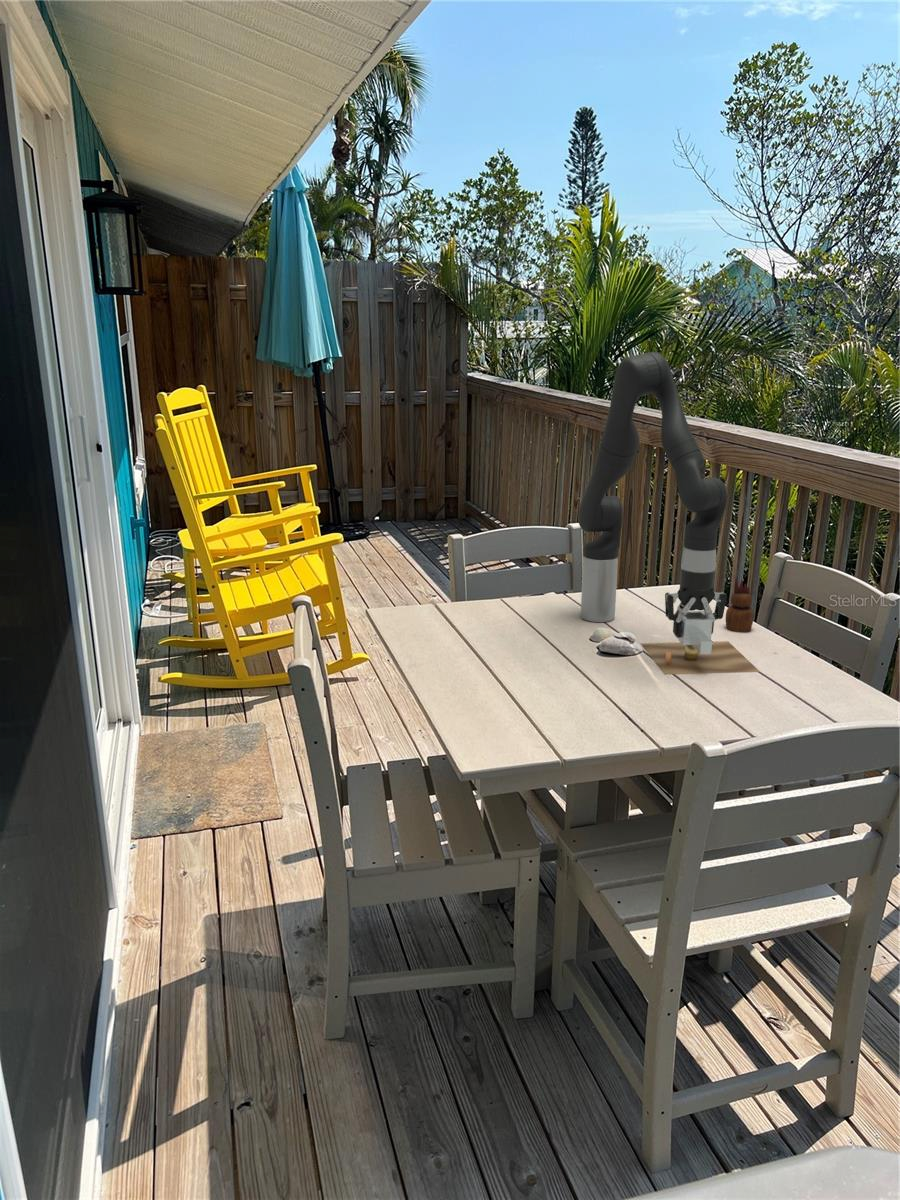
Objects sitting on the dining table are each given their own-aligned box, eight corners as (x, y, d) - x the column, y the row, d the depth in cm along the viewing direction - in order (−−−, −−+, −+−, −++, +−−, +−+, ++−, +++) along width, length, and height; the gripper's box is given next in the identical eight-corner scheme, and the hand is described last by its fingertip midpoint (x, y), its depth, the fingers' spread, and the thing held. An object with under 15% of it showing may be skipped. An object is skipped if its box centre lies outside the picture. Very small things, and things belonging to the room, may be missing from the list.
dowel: (664, 663, 205) (665, 651, 204) (669, 663, 205) (670, 650, 204) (666, 665, 204) (667, 652, 203) (671, 664, 204) (672, 652, 203)
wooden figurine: (723, 636, 227) (728, 579, 223) (725, 629, 232) (730, 574, 228) (750, 639, 225) (756, 582, 220) (752, 632, 230) (758, 576, 225)
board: (640, 649, 218) (640, 643, 218) (727, 646, 220) (728, 641, 219) (663, 680, 199) (664, 674, 199) (759, 677, 201) (760, 671, 200)
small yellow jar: (682, 656, 209) (683, 642, 208) (695, 656, 209) (696, 642, 208) (686, 661, 206) (687, 647, 205) (699, 660, 207) (700, 646, 206)
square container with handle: (674, 635, 209) (676, 611, 208) (701, 635, 210) (703, 610, 208) (691, 654, 198) (693, 629, 196) (719, 653, 198) (722, 628, 196)
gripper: (723, 561, 205) (717, 630, 210) (662, 563, 204) (657, 631, 209) (735, 570, 198) (728, 641, 203) (672, 571, 197) (666, 642, 202)
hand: (692, 635), depth 206 cm, fingers closed on square container with handle, 6 cm apart
